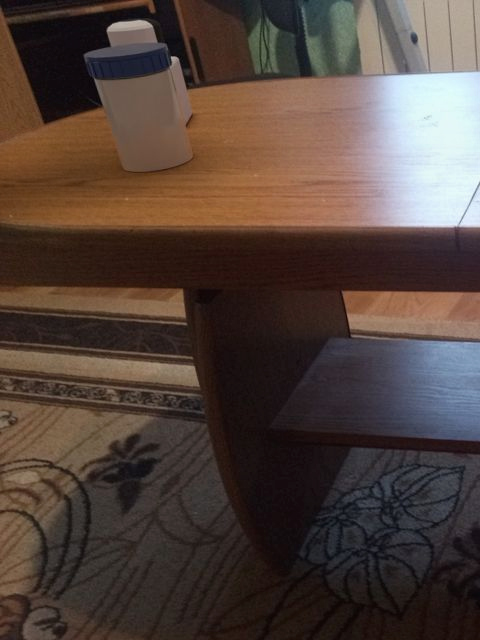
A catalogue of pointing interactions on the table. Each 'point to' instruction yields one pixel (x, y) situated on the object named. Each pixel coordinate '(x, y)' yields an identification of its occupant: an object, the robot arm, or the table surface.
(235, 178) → the table surface
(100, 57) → the jar lid
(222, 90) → the table surface
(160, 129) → the jar
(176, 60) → the medicine bottle
